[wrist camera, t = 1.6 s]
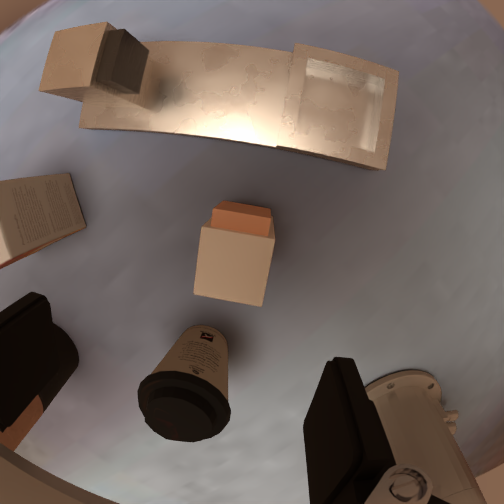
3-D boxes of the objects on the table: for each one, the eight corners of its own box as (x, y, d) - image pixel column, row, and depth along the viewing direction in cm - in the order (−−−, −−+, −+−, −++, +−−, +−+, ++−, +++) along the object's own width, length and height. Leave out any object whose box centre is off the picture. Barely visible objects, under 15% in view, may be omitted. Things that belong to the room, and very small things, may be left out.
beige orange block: (263, 263, 25) (261, 306, 17) (215, 255, 25) (193, 294, 17) (275, 203, 24) (278, 221, 16) (224, 194, 24) (204, 208, 16)
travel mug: (26, 338, 30) (-71, 430, 10) (44, 306, 28) (-77, 408, 9) (66, 382, 31) (-15, 490, 12) (91, 356, 29) (-8, 485, 10)
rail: (382, 85, 21) (443, 47, 11) (370, 170, 23) (431, 175, 13) (107, 52, 21) (42, 14, 11) (90, 129, 23) (13, 120, 13)
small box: (36, 252, 26) (-34, 287, 16) (20, 202, 25) (-54, 223, 15) (89, 227, 25) (11, 261, 15) (71, 171, 24) (-12, 181, 14)
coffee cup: (207, 299, 26) (177, 368, 17) (255, 354, 28) (249, 433, 18) (154, 336, 28) (112, 403, 18) (201, 384, 29) (179, 458, 19)
